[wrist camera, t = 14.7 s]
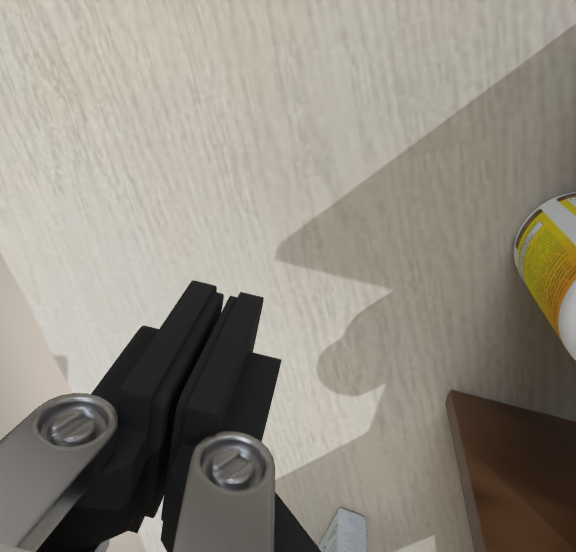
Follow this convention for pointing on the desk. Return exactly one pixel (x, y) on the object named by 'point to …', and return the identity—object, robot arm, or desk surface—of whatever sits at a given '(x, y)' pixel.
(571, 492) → the shelf
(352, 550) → the ink box
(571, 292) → the supplement bottle
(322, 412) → the desk surface
